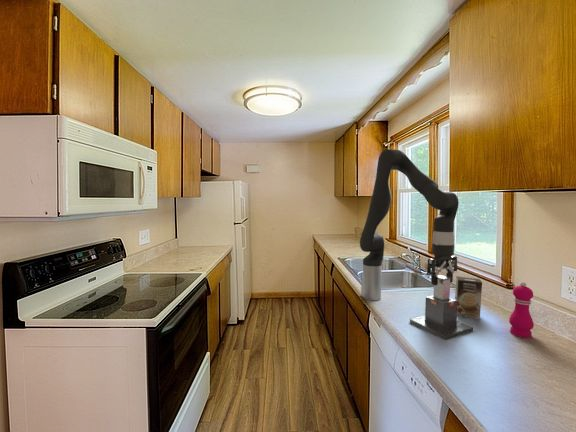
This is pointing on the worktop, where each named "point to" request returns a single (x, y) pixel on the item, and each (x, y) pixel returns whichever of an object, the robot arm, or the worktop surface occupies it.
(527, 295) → the pepper mill
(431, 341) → the worktop surface
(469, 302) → the coffee box
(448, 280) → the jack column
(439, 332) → the grey square socket base
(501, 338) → the worktop surface
